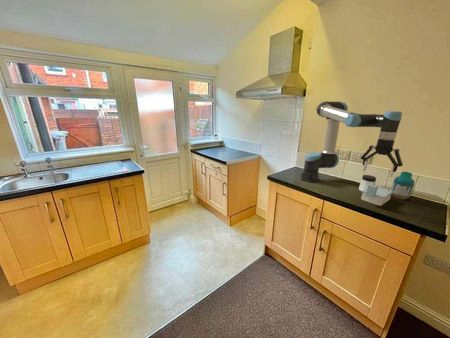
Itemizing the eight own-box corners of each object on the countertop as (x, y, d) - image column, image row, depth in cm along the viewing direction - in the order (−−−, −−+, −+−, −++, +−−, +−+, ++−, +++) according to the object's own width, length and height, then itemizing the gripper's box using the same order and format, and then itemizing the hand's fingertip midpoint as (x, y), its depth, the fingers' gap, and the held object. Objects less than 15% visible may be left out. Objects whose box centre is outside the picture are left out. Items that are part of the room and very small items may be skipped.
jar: (369, 194, 137) (373, 179, 134) (356, 190, 144) (360, 176, 140) (374, 192, 142) (378, 177, 138) (362, 188, 149) (365, 174, 145)
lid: (358, 194, 125) (361, 183, 122) (372, 187, 136) (374, 177, 134) (380, 201, 115) (383, 189, 113) (392, 193, 127) (396, 182, 125)
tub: (360, 200, 129) (363, 191, 127) (370, 194, 138) (372, 186, 136) (380, 207, 120) (382, 197, 118) (389, 200, 129) (392, 192, 127)
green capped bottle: (412, 203, 126) (421, 176, 120) (392, 200, 130) (401, 174, 124) (404, 196, 136) (412, 171, 130) (386, 194, 139) (393, 169, 133)
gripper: (359, 136, 117) (352, 169, 124) (413, 142, 98) (401, 180, 104) (364, 135, 121) (357, 167, 128) (417, 141, 102) (405, 178, 108)
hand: (376, 173), depth 116 cm, fingers open, 13 cm apart
